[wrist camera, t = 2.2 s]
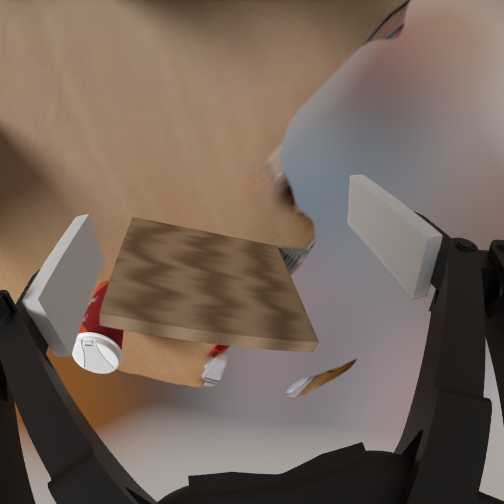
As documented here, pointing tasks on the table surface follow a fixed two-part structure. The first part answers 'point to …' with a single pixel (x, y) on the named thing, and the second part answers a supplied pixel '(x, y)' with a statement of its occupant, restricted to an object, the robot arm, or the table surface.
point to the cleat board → (205, 290)
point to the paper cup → (98, 339)
